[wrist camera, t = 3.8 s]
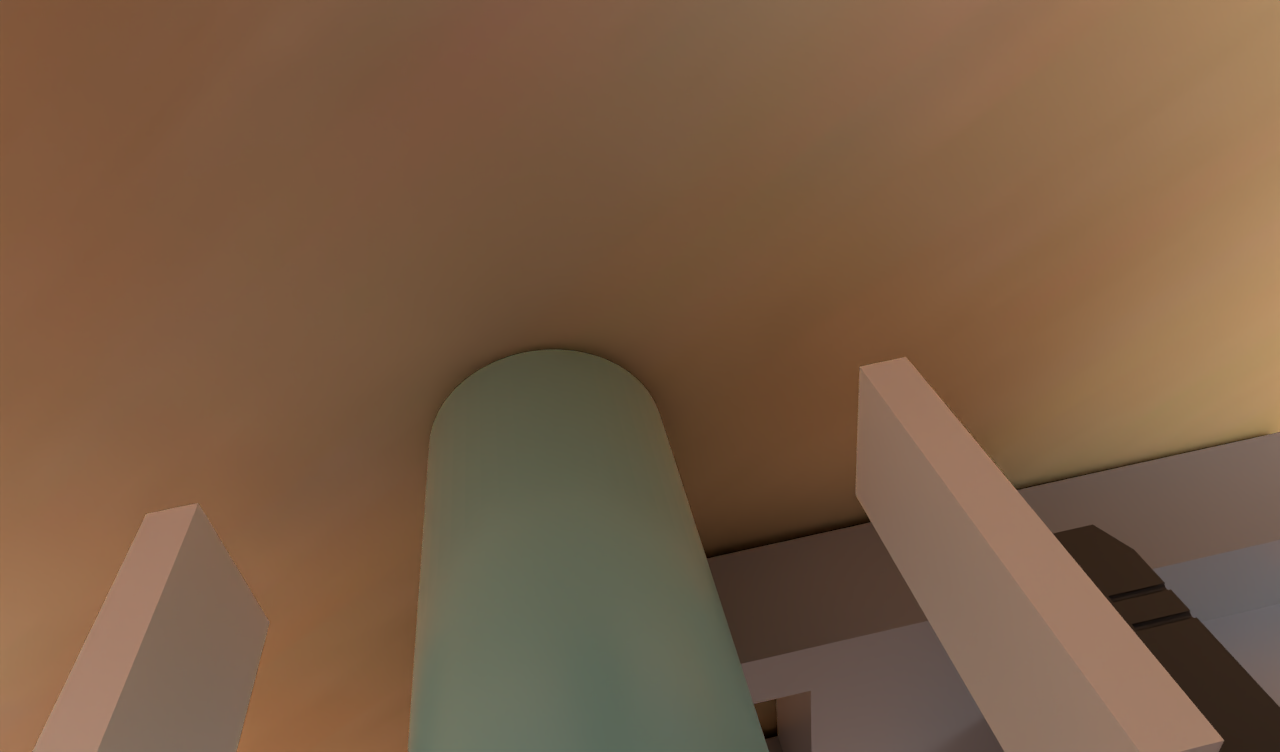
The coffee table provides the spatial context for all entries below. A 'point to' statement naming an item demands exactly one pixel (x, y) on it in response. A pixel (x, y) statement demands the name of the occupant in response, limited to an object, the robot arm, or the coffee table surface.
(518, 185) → the coffee table surface
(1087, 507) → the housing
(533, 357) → the peg
